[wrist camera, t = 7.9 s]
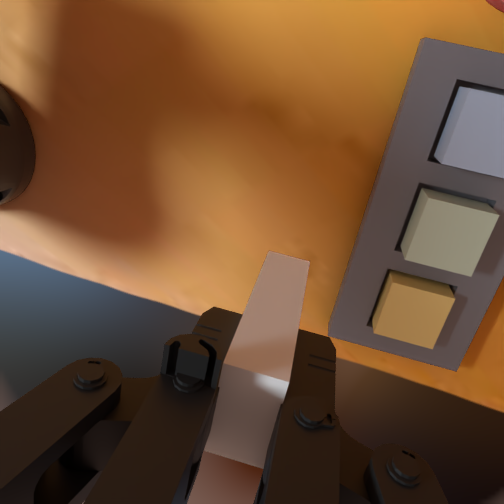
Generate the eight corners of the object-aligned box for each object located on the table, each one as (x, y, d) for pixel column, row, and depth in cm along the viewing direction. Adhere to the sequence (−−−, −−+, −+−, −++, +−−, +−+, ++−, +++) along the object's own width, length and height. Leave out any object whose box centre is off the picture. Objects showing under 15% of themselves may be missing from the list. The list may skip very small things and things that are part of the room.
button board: (328, 323, 51) (327, 335, 49) (420, 39, 38) (425, 37, 36) (451, 357, 50) (456, 371, 47) (587, 74, 37) (603, 74, 35)
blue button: (433, 156, 40) (441, 163, 37) (459, 86, 37) (470, 88, 34) (501, 171, 39) (515, 181, 36) (532, 102, 37) (550, 105, 34)
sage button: (400, 245, 44) (404, 259, 40) (421, 187, 41) (428, 197, 38) (461, 261, 43) (471, 276, 40) (487, 203, 41) (499, 215, 37)
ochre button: (371, 315, 48) (373, 333, 45) (389, 267, 46) (392, 282, 43) (426, 330, 48) (432, 349, 45) (447, 282, 45) (455, 298, 42)
